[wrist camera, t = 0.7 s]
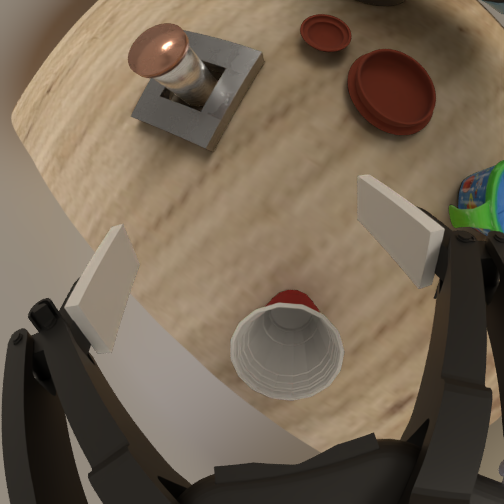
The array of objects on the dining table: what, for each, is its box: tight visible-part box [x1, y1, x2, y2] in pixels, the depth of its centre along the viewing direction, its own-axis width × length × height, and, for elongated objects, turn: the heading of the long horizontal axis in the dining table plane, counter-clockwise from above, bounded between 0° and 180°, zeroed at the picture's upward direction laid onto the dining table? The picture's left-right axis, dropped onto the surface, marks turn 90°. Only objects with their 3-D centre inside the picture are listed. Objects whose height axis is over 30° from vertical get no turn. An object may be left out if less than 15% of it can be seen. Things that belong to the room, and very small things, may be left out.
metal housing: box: [131, 30, 265, 152], centre depth 30 cm, size 14×12×3 cm
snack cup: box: [449, 160, 504, 236], centre depth 24 cm, size 16×11×10 cm
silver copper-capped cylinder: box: [128, 23, 217, 106], centre depth 25 cm, size 6×6×13 cm
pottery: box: [300, 14, 436, 135], centre depth 26 cm, size 12×20×4 cm, turn 47°
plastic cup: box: [231, 290, 344, 401], centre depth 30 cm, size 11×11×12 cm
